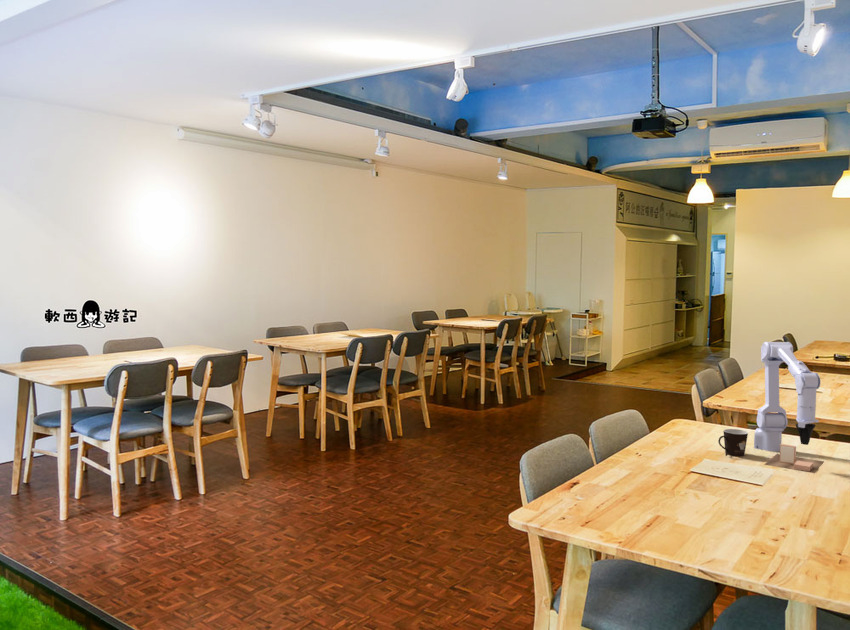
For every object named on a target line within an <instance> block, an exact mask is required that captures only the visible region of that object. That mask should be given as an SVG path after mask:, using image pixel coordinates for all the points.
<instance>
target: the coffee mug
mask: <svg viewBox="0 0 850 630" xmlns="http://www.w3.org/2000/svg"><path fill="white" fill-rule="evenodd" d="M748 435H749V432H748V431H746V430H742V429H737V428H726V429H723V435H721V436H720V437H718V441H717V442H718V444H719V446H720V447H721V448H722V449H724V453H725V457H727V456H731V457H737V458H738V457H744V456H745V453H746V447H747V440H748ZM721 439H723V441H724V446H723V445H722V443H721Z"/></svg>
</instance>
